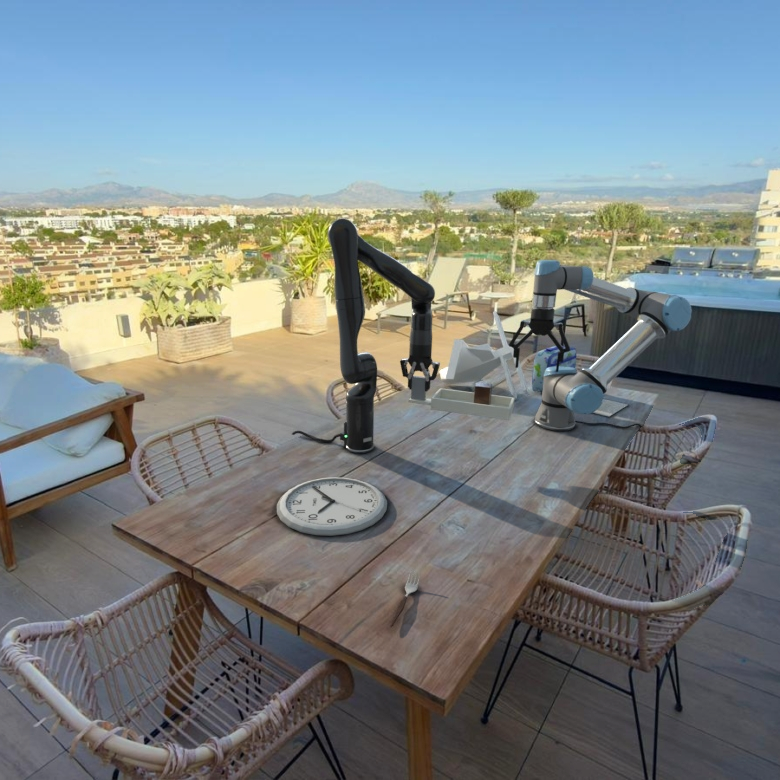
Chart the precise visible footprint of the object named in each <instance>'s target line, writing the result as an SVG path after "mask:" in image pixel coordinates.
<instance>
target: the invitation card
mask: <svg viewBox="0 0 780 780" xmlns="http://www.w3.org/2000/svg"><path fill="white" fill-rule="evenodd" d="M628 406H629V404H627V403H623V402H618V401H614V400H609V399H605V398H604V399H603V400H602V404H601V406H600V407H599V408H598V409H597V410H596V411H595V412H593V413H592V414H596V415H600V416H604V417H608V418H609V417H611V416H613V415H614V414H616V413H617V412H619V411H621V410H623V409H624V408H626V407H628Z"/></svg>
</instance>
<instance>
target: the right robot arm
mask: <svg viewBox="0 0 780 780" xmlns="http://www.w3.org/2000/svg"><path fill="white" fill-rule="evenodd" d="M592 269H593V268H591V267H590V266H583V265H581V266H575V265H569V264H568V265H566V264H561V263H560V261H559V260H557V259H556V260H554V259H540V260H538V261H537V262H536V264H535V268H534V274H533V275H534V280H533V289H532V290H533V292H532V297H531V298H532V300H531V307H532V308H530V309H531V310H530V320H529V321H527V320H525V319H522V320H521V321H520V323H519V327H518V329H517V330H516V332H515V334H514V335H513V337H512V338H511V340H510V342H509V343H508V345H509V346H510V347H512V348H513V349H514V352H513V357H514V358H516V366H515V365H514V366H515V369H516V368H518V364H519V362H520V353H521V347H520V346H522V345H523V343H524V342H526V341H527V340H528V339H529V338H530V337H531V336H532V335H535V336H542V337H545V336H548V338H550V340H551V341H552V342H553V344H554V346H557V348H558V349H559V351H558V358H557V367H548V368H547V369H546V370H545V373H544V382H543V391H542V394H541V402H540V405H539V407H538V410H537V411H536V413H535V417H534V424H535V425H536V426H537V427H539V428H542V429H544V430H549V431H556V432H567V431H572V430H574V429H575V428H576V423H577V424H582V425H585V426H599V425H600V426H601V425H604V426H610V427H612V428H613V427H614V428H619V429H629V428H632V427H635V426H638V427H639V428H643V426H642V425H641V424H640V423H636V422H635V423H633V424H630V425H627V426H626V425H625V426H624V425H623V426H622V425H617V424H613V423H608V422H585V421H580V420H577V419H576V418H575V417H576V416H575V414H578V415H583V416H585V415H590V414H594V413H593V412H595V411H596V410H597V409H598V408H599V407H600V406H601V404H602V400H603V399H605V397H604V395H605V394H606V393H607V392H608V385H609V384H611V382H612V381H613V380H614V379H615V378H617V377H618V376H619V375H620V374H621V373H622V372H623V371H624V370H625V369H626V368H627V367H628V366H629V365H630V364H632V362H634V360H636V359H637V358H638V357H639V356H640V355H641V354H642V353H643V352H644V351H645V350H646V349H647V348H648V347H649V346H650V345H652V344H653V342H655V341H656V340H657V339H664V338H666V337H667V335H669V334H670V333H671V332H679V331H682V330H683V329H685V328H686V327H687V326H688V324H689V323H690V321H691V319H692V312H693V311H692V305H691V303H690V302H689V301H688V299H687V298H685V297H683V296H680V295H677V294H666V293H664V292H658V291H651V290H643V289H638V288H635V287H630V286H629V287H623V286H620V285H617V284H615V283H612V282H609V281H607V280H604V279H601V278H598V277H595V276H594V271H593V270H592ZM559 290H561V291H562V290H565V291H567V292H571V293H574V294H576V295H578V296H582V297H585V298H587V299H590V300H594V301H597V302H599V303H602V304H604V305H608V306H611V307H612V308H613V307H614V308H616V309H617V311H618V312H619V313H622V314H624V315H627V316H629V317H631V318H634V319H636V320H637V322H636V323H635V324H634V325H633V326H632V327H631V328H630V329H628V330H627V332H626V333H625V334H623V335H622V337H620V338H619V339H618V340H617V341H616V342H614V344H613V345H612V346H611V347H610V348H609V349H607V351H605V352H604V353H603V354H602V355H601V356H600V357H599V358H598V359H597V360H596V361H595V362H594V363H593V364H592V365H591V366H590V367H589V368H581V369H580V370H579V371H578V369H577V368H576V367H575V368H572V367H560V366H559V362H563V358H564V353H565V352H569V351H570V347H571V346H570V344H569V341H568V339H567V337H566V334H565V331H564V328H563V327H564V325H563V324H564V323H563V322H559V323H555V321H554V318H555V307H556V300H557V293H558V291H559ZM527 326H528V327H529V330H528V332H527V333H525V335H524V336H522V337H521V338H520V339H519V340H518V337H519V336H520V334H521V332H522V331H523V329H525V328H526V327H527ZM554 328H555V329H556V330H557V331H558V333H559V335H560V339H561V341H562V344H563V345H562V344H561V343H560V341H559V340H558V338H557V337H556V336H555V334H554V333H553V331H552V330H553V329H554ZM517 340H518V342H516V341H517ZM515 342H516V343H515ZM562 346H565V348H563V347H562Z"/></svg>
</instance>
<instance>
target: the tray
mask: <svg viewBox="0 0 780 780" xmlns="http://www.w3.org/2000/svg"><path fill="white" fill-rule="evenodd" d="M425 381H426V379H425V376H419V375H413V376H412V389H411V391H410V397H409V399H408V403H410V404H418V405H425V406H430V410H432V411H439V412H445V413H446V412H447V413H452V414H460V415H461V414H462V415H469V416H474V417H475V416H476V417H482V418H490V419H496V420H504V421H510V419H511V417H512V414H513V412H514V408H515V400H516V399H515V397H514V396H504V395H496V394H491V404H490V405H485V404H477V403H474V392H473V391H464V390H457V389H450V388H449V389H448V388H441V387H440V388H439V389H438V390H437V391H436V392H435V393H434V394H433V396H432V397H431V398H427V392H426V391H425Z"/></svg>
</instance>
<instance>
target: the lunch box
mask: <svg viewBox="0 0 780 780" xmlns="http://www.w3.org/2000/svg"><path fill="white" fill-rule="evenodd" d="M562 347H563V348H565V346H564V345H562ZM558 351H559V349H558V348H557V346H556V345H553V346H550V347H546V348H545V349H542V350H539V351H538V352H537V353H536V354H535V356H534V358H533V365H532V376H531V377H532V378H531V390H532V391H533V392H537V393H542V391H543V382H544V373H545V370H546V369H547V368H548V367H557V358H558ZM576 362H577V348H576V347H571V346H570V351H569V352H565V353H564V358H563V362H559V366H560V367H572V368H576V364H577V363H576Z"/></svg>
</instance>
